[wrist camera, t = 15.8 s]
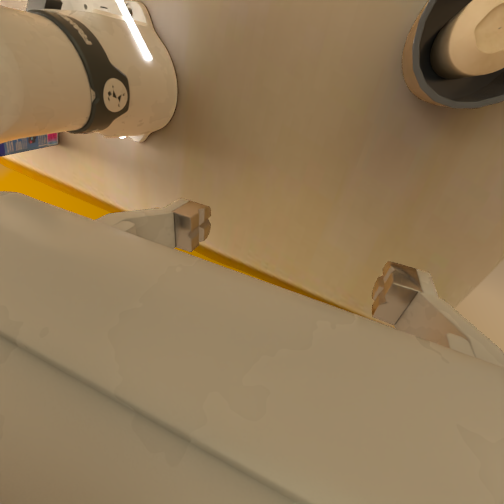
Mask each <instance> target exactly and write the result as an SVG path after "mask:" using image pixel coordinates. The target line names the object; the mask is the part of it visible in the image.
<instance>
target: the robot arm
mask: <svg viewBox="0 0 504 504" xmlns="http://www.w3.org/2000/svg"><path fill="white" fill-rule="evenodd" d="M131 11H132V13H133V14H131ZM176 103H177V79H176V74H175V70H174V66H173V63H172V60H171V58H170V56H169V53H168V51H167V50H166V48H165V46H164V44H163V43H162V41H161V40H160V39H159V37H158V36H157V34H156V32H155V30H154V28H153V25H152V22H151V19H150V16H149V13H148V11H147V9H146V7H145V5H144V4H143V3H141V2H137V1H127V0H28V3H27V8H26V12H25V11H21V10H17V9H13V8H8V7H4V6H0V144H1V143H4V142H7V141H11V140H16V139H20V138H26V137H33V136H39V135H45V134H52V133H59V132H65V131H66V132H69V133H74V134H76V133H81V134H82V133H83V134H87V133H94V132H97V133H99V134H101V135H102V136H103V137H105V138H115V137H120V138H126V137H129V138H131V139H132V140H134V141H135V142H143V141H144V140H145V139H146V138H147V137H148V136H149V134H150V133H152V132H154V131H157V130H159V129H161V128H163V127H164V126H165V125H167V123H168V122H169V121H170V119H171V118H172V116H173V114H174V111H175V108H176ZM210 216H211V209H210V207H209V206H206V205H203V204H200V203H197V202H193V201H191V200H187V199H184V198H180V199H178V200H176V201H175V202H173V203H171V204H169V205H167V206H166V207H164V208H162V209H160V208H154V209H145V210H136V211H128V212H119V213H110V214H107V215H105V216H103V217H100V218H98V219H96V220H92V219H89V218H86V217H84V216H81V215H78V214H76V213H73V212H70V211H67V210H64V209H61V208H59V207H56V206H53V205H50V204H48V203H45V202H42V201H40V200H37V199H34V198H32V197H29V196H27V195H24V194H21V193H17V192H0V504H504V353H503V351H502V350H501V349H500V348H499V347H498V346H497V345H495V344H494V343H493V342H492V341H491V340H490V339H488V338H487V337H486V336H485V335H484V334H482V332H480V331H479V330H478V329H477V328H476V327H475V326H473V325H472V324H471V323H470V322H469V321H468V320H467V319H465V318H464V317H463V316H462V315H461V314H460V313H458V312H457V311H456V310H455V309H454V308H453V307H452V306H450V305H449V304H448V303H447V302H446V301H445V300H443V299H441V298H439V297H438V294H437V291H436V288H435V285H434V283H433V280H432V277H431V274H430V273H429V272H426V271H422V270H418V269H415V268H412V267H408V266H405V265H401V264H398V263H394V262H390V261H388V262H387V263H386V264H385V266H384V268H383V275H382V276H380V277H378V278H377V280H376V282H375V285H374V287H373V291H372V299H373V300H374V303H373V305H372V317H374V318H377V319H379V320H382V321H385V322H387V323H390V324H392V325H395V328H396V329H395V328H392V327H389V326H387V325H384V324H381V323H378V322H375V321H373V320H370V319H367V318H364V317H362V316H359V315H356V314H353V313H350V312H348V311H345V310H342V309H339V308H337V307H334V306H331V305H328V304H325V303H323V302H320V301H317V300H314V299H312V298H309V297H306V296H303V295H300V294H298V293H295V292H292V291H289V290H287V289H284V288H281V287H278V286H275V285H273V284H270V283H267V282H264V281H262V280H259V279H256V278H253V277H250V276H247V275H245V274H242V273H239V272H237V271H234V270H231V269H228V268H225V267H223V266H220V265H217V264H214V263H211V262H209V261H206V260H203V259H200V258H198V257H195V256H192V255H189V254H186V253H184V252H181V251H178V250H176V249H173V248H175V247H177V248H180V249H183V250H187V251H189V252H192V251H193V250H194V249H195V248H196V247H197V246H199V242H201V241H204V240H205V239H206V238H207V237H208V235H209V232H210V227H211V224H210V222H209V220H208V218H209V217H210Z"/></svg>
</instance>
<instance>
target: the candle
mask: <svg viewBox="0 0 504 504" xmlns="http://www.w3.org/2000/svg"><path fill="white" fill-rule="evenodd" d="M430 63H431V66H432V69H433V70H434V72H435V73H436V74H437V75H439V76H440V77H442V78H446V79H458V78H465V77H471V76H478V75H485V74H489V73H493V72H495V71H498V70H500V69H502V68H504V0H472V1H471V2H470V3H469V4H468V5H467V6H465V7H464V8H463V9H462V10H461V11H460V12H459V13H457V14H456V15H455V16H454V17H453V18H452V19H451V20H450V21H448V22H447V23H446V24H445V26H444V27H443V28H442V29H441V30H440V32H439V33H438V35H437V36H436V38H435V40H434V42H433V45H432V48H431V52H430Z"/></svg>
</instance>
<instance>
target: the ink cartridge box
mask: <svg viewBox="0 0 504 504" xmlns="http://www.w3.org/2000/svg"><path fill="white" fill-rule="evenodd" d="M57 144H58V133H52V134H45V135H39V136H33V137H26V138H20V139H16V140H11V141H7V142H4V143H1V144H0V156H5V155H10V154H15V153H20V152H24V151H29V150H34V149H39V148H44V147H49V146H53V145H57Z"/></svg>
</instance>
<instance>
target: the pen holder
mask: <svg viewBox="0 0 504 504" xmlns="http://www.w3.org/2000/svg"><path fill="white" fill-rule="evenodd" d="M471 1H472V0H428V1H427V3H426V4H425V6H424V7H423V9H422V10H421V12H420V13H419V15H418V16H417V18H416V20H415V22H414V24H413V26H412V28H411V30H410V32H409V34H408V36H407V39H406V42H405V45H404V49H403V54H402V73H403V77H404V81H405V83H406V85H407V87H408V88H409V90H410V91H411V92H412V93H413V94H414V95H415V96H416V97H418V98H419V99H420V100H423V101H425V102H428V103H431V104H434V105H439V106H444V107H449V108H463V109H475V108H480V107H484V106H488V105H492V104H495V103H499V102H502V101H504V68H502V69H500V70H498V71H495V72H493V73H489V74H485V75H478V76H471V77H465V78H458V79H446V78H442V77H440V76H439V75H437V74H436V73H435V72H434V70H433V69H432V66H431V63H430V52H431V48H432V45H433V42H434V40H435V38H436V36H437V35H438V33H439V32H440V30H441V29H442V28H443V27H444V26H445V24H446V23H447V22H448V21H450V20H451V19H452V18H453V17H454V16H455V15H456V14H457V13H459V12H460V11H461V10H462V9H463V8H464V7H465V6H467V5H468V4H469V3H470V2H471Z"/></svg>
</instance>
